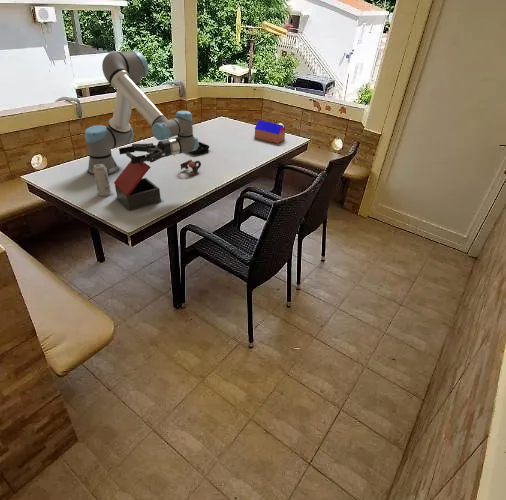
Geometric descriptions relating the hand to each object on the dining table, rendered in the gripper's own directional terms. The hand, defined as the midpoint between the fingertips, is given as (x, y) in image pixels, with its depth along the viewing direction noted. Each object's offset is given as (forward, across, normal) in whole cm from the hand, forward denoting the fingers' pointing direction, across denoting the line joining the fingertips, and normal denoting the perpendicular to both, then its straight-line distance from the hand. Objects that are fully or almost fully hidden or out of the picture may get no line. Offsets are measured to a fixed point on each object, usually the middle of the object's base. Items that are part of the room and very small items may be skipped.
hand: (125, 156), depth 157 cm
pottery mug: (-41, +15, -20) cm, 48 cm away
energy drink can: (+8, +14, -23) cm, 28 cm away
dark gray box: (-3, 0, -23) cm, 23 cm away
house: (-123, +39, -23) cm, 131 cm away
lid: (-2, 0, -10) cm, 10 cm away
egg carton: (-62, +52, -23) cm, 84 cm away
